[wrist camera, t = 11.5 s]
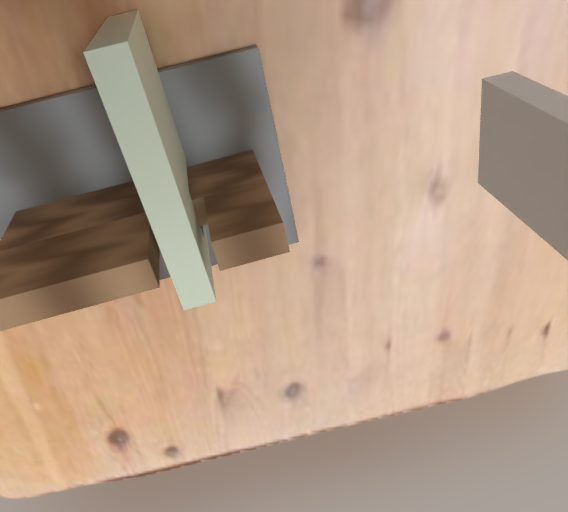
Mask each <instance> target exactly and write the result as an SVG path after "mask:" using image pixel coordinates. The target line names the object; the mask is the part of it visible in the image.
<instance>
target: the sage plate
mask: <svg viewBox="0 0 568 512" xmlns="http://www.w3.org/2000/svg"><path fill="white" fill-rule="evenodd" d="M83 53H84V56H85V58H86V61H87V64H88V66H89V69H90V71H91V74H92V76H93V79H94V82H95V84H96V87H97V89H98V92H99V94H100V97H101V99H102V102H103V105H104V107H105V110H106V112H107V115H108V117H109V120H110V123H111V125H112V128H113V130H114V133H115V135H116V138H117V140H118V143H119V146H120V148H121V151H122V153H123V156H124V158H125V161H126V164H127V166H128V169H129V171H130V174H131V176H132V179H133V182H134V184H135V187H136V189H137V192H138V194H139V197H140V199H141V202H142V205H143V207H144V210H145V212H146V215H147V217H148V220H149V223H150V225H151V228H152V230H153V233H154V235H155V238H156V241H157V243H158V246H159V248H160V251H161V253H162V256H163V258H164V261H165V264H166V266H167V269H168V271H169V274H170V276H171V279H172V282H173V284H174V287H175V289H176V292H177V294H178V297H179V299H180V302H181V305H182V307H183V310H187V309H191V308H195V307H198V306H202V305H205V304H209V303H212V302H216V296H215V289H214V283H213V276H212V269H211V262H210V255H209V248H208V241H207V235H206V228H205V225H203V226H200V224H199V221H198V218H197V215H196V212H195V209H194V205H193V202H192V199H191V196H190V193H189V187H188V177H187V167H186V157H185V154H184V151H183V148H182V145H181V142H180V138H179V135H178V132H177V129H176V126H175V123H174V120H173V117H172V114H171V110H170V107H169V104H168V101H167V98H166V95H165V92H164V89H163V85H162V82H161V79H160V76H159V73H158V70H157V67H156V64H155V60H154V57H153V54H152V51H151V48H150V45H149V42H148V39H147V35H146V32H145V29H144V26H143V23H142V20H141V17H140V14H139V10H134V11H130V12H126V13H122V14H118V15H114V16H109V17H107V18H106V20H105V21H104V23H103V24H102V25H101V27H100V28H99V30H98V31H97V33H96V34H95V36H94V37H93V39H92V40H91V41H90V43H89V44H88V46H87V47H86V49H85V50H84V52H83Z"/></svg>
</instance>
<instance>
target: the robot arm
mask: <svg viewBox="0 0 568 512" xmlns="http://www.w3.org/2000/svg"><path fill="white" fill-rule="evenodd" d="M478 183H479V184H480V185H481V186H482V187H483V188H485V189H486V190H487V191H488V192H489V193H490V194H491V195H493V196H494V197H495V198H496V199H497V200H498V201H500V202H501V203H502V204H503V205H504V206H505V207H507V208H508V209H509V210H510V211H511V212H512V213H514V214H515V215H516V216H517V217H518V218H519V219H520V220H522V221H523V222H524V223H525V224H526V225H527V226H529V227H530V228H531V229H532V230H533V231H534V232H536V233H537V234H538V235H539V236H540V237H541V238H543V239H544V240H545V241H546V242H547V243H548V244H550V245H551V246H552V247H553V248H554V249H555V250H556V251H558V252H559V253H560V254H561V255H562V256H563V257H565V258H566V259H567V260H568V96H566V95H564V94H562V93H560V92H557V91H555V90H553V89H551V88H549V87H546V86H544V85H542V84H540V83H538V82H535V81H533V80H531V79H529V78H527V77H524V76H522V75H520V74H518V73H516V72H513V71H512V72H508V73H504V74H500V75H496V76H492V77H488V78H484V79H482V95H481V121H480V146H479V172H478Z"/></svg>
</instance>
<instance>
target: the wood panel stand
mask: <svg viewBox="0 0 568 512" xmlns="http://www.w3.org/2000/svg"><path fill="white" fill-rule="evenodd" d="M157 70H158V73H159V76H160V79H161V82H162V85H163V89H164V92H165V95H166V98H167V101H168V104H169V107H170V110H171V114H172V117H173V120H174V123H175V126H176V129H177V132H178V135H179V138H180V142H181V145H182V148H183V151H184V154H185V157H186V167H187V177H188V187H189V193H190V196H191V199H192V202H193V205H194V209H195V212H196V215H197V218H198V221H199V224H200V226H203V225H205V228H206V235H207V241H208V248H209V255H210V262H211V266H212V265H216V264H218V266H219V269H220V271H221V270H225V269H228V268H232V267H236V266H239V265H243V264H247V263H250V262H254V261H258V260H261V259H265V258H268V257H272V256H276V255H279V254H283V253H287V252H290V251H289V246H288V245H289V244H293V243H297V242H299V240H298V236H297V231H296V226H295V221H294V216H293V212H292V207H291V202H290V197H289V193H288V188H287V183H286V178H285V173H284V169H283V164H282V159H281V154H280V150H279V145H278V140H277V135H276V130H275V126H274V121H273V116H272V111H271V107H270V102H269V97H268V92H267V87H266V83H265V78H264V73H263V68H262V64H261V59H260V54H259V49H258V47H257V46H256V45H254V46H250V47H246V48H242V49H238V50H234V51H230V52H226V53H222V54H218V55H214V56H210V57H206V58H202V59H198V60H194V61H189V62H185V63H181V64H177V65H173V66H169V67H165V68H161V69H157ZM0 239H1V240H0V331H2V330H6V329H9V328H13V327H17V326H20V325H24V324H28V323H31V322H35V321H39V320H42V319H46V318H49V317H53V316H57V315H60V314H64V313H68V312H71V311H75V310H79V309H82V308H86V307H90V306H93V305H97V304H101V303H104V302H108V301H112V300H115V299H119V298H122V297H126V296H130V295H133V294H137V293H141V292H144V291H148V290H152V289H155V288H159V280H161V279H165V278H168V277H171V276H170V274H169V271H168V269H167V266H166V264H165V261H164V258H163V256H162V253H161V251H160V248H159V246H158V243H157V241H156V238H155V235H154V233H153V230H152V228H151V225H150V223H149V220H148V217H147V215H146V212H145V210H144V207H143V205H142V202H141V199H140V197H139V194H138V192H137V189H136V187H135V184H134V182H133V179H132V176H131V174H130V171H129V169H128V166H127V164H126V161H125V158H124V156H123V153H122V151H121V148H120V146H119V143H118V140H117V138H116V135H115V133H114V130H113V128H112V125H111V123H110V120H109V117H108V115H107V112H106V110H105V107H104V105H103V102H102V99H101V97H100V94H99V92H98V89H97V87H96V85H93V86H89V87H85V88H81V89H76V90H72V91H68V92H64V93H60V94H56V95H52V96H48V97H44V98H40V99H36V100H32V101H28V102H24V103H20V104H16V105H12V106H8V107H4V108H0Z"/></svg>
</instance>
